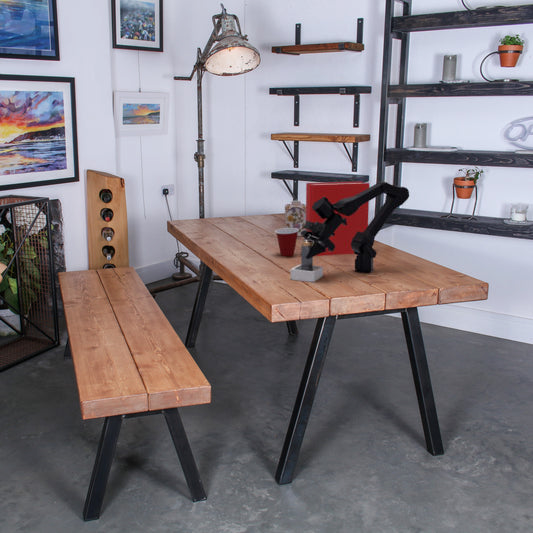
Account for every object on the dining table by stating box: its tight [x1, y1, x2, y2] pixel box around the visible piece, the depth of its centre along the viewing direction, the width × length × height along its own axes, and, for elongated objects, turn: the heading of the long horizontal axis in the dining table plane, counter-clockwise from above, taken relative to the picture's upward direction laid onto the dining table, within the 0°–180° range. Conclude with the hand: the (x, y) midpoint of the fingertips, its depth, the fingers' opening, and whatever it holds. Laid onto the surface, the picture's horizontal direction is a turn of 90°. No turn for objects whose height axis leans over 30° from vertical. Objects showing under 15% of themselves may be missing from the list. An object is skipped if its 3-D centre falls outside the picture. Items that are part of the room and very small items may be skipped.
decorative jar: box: [284, 200, 306, 236], centre depth 323 cm, size 12×12×18 cm
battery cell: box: [300, 239, 314, 271], centre depth 238 cm, size 4×4×13 cm
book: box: [305, 180, 370, 257], centre depth 279 cm, size 27×8×32 cm, turn 103°
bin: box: [290, 263, 324, 283], centre depth 240 cm, size 10×10×4 cm
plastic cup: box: [274, 227, 299, 258], centre depth 276 cm, size 11×11×12 cm
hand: (303, 257), depth 237 cm, fingers closed on battery cell, 4 cm apart
